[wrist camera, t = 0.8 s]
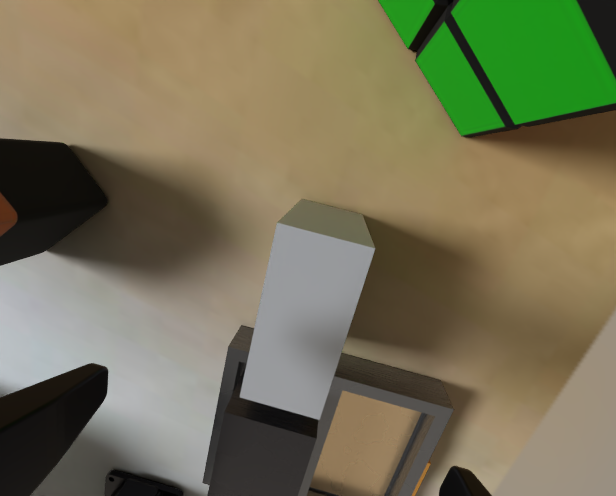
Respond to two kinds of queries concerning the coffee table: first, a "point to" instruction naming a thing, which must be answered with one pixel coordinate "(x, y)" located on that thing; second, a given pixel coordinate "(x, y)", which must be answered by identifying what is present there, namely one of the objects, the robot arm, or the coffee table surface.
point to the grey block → (306, 306)
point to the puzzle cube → (512, 58)
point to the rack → (327, 434)
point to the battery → (41, 196)
